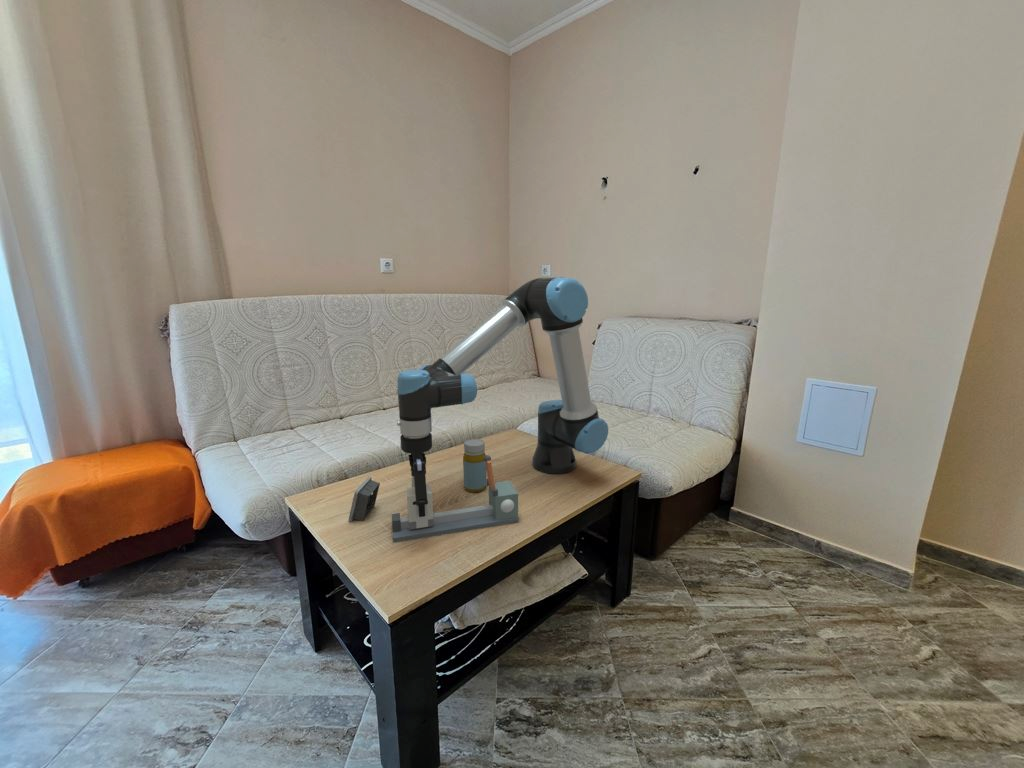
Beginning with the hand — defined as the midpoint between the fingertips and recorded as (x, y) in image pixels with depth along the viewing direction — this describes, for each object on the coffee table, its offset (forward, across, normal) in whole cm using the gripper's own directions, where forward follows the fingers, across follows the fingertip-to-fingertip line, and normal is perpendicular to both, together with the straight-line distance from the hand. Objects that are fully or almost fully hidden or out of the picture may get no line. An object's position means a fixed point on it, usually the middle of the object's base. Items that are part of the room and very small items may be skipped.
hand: (419, 512), depth 106 cm
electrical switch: (+5, -12, -14) cm, 19 cm away
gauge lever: (-4, 0, +19) cm, 20 cm away
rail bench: (+4, 0, +9) cm, 10 cm away
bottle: (+5, -18, +18) cm, 26 cm away
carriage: (+3, 0, 0) cm, 3 cm away
